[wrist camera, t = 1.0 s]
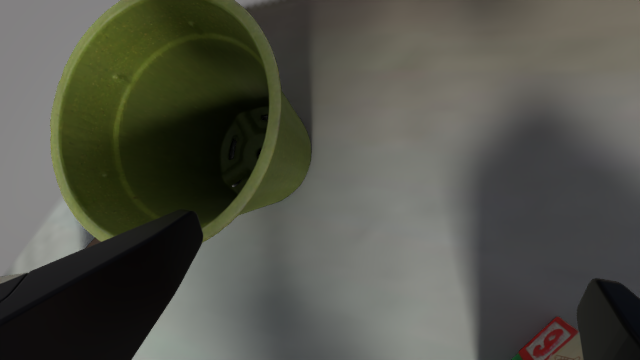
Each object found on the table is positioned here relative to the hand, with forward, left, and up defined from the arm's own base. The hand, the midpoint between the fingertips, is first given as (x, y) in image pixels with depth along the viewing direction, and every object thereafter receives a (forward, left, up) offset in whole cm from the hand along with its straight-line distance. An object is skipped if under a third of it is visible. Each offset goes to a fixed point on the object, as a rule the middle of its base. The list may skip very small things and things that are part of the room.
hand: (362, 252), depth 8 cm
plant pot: (+1, +11, -15) cm, 19 cm away
